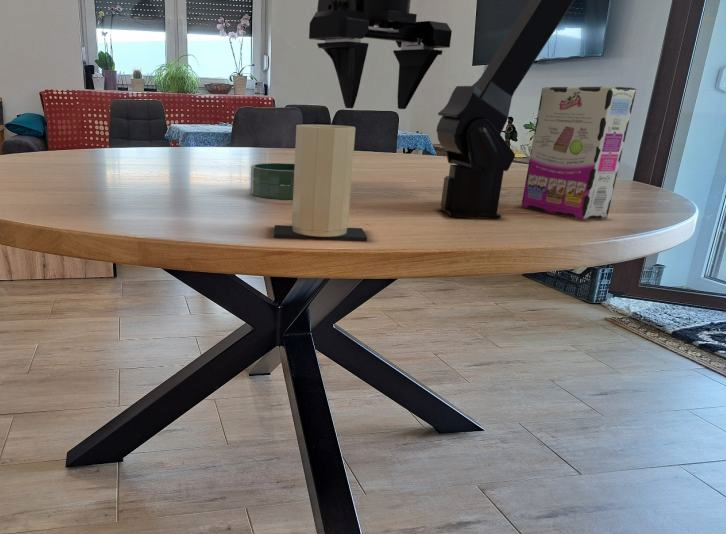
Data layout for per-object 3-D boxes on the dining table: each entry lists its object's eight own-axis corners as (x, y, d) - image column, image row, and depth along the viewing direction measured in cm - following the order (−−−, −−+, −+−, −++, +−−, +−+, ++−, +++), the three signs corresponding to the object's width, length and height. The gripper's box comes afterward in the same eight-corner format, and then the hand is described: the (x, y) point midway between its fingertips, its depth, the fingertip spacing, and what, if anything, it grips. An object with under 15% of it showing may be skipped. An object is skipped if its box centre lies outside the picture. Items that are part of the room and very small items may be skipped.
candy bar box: (609, 219, 85) (639, 87, 79) (583, 221, 83) (612, 86, 77) (544, 205, 95) (566, 86, 89) (519, 207, 93) (540, 85, 87)
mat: (361, 231, 73) (362, 228, 73) (366, 241, 68) (367, 237, 68) (274, 228, 73) (274, 224, 73) (273, 237, 68) (273, 234, 68)
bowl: (316, 194, 98) (318, 164, 97) (319, 205, 89) (321, 172, 87) (252, 192, 98) (252, 162, 97) (248, 202, 89) (249, 169, 88)
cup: (310, 223, 74) (315, 123, 70) (356, 230, 71) (365, 127, 67) (281, 231, 70) (285, 125, 66) (329, 239, 66) (337, 128, 62)
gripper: (393, -19, 84) (382, 107, 90) (282, -38, 74) (277, 105, 80) (462, -29, 76) (444, 110, 82) (348, -52, 66) (337, 108, 72)
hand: (376, 108), depth 79 cm, fingers open, 9 cm apart
